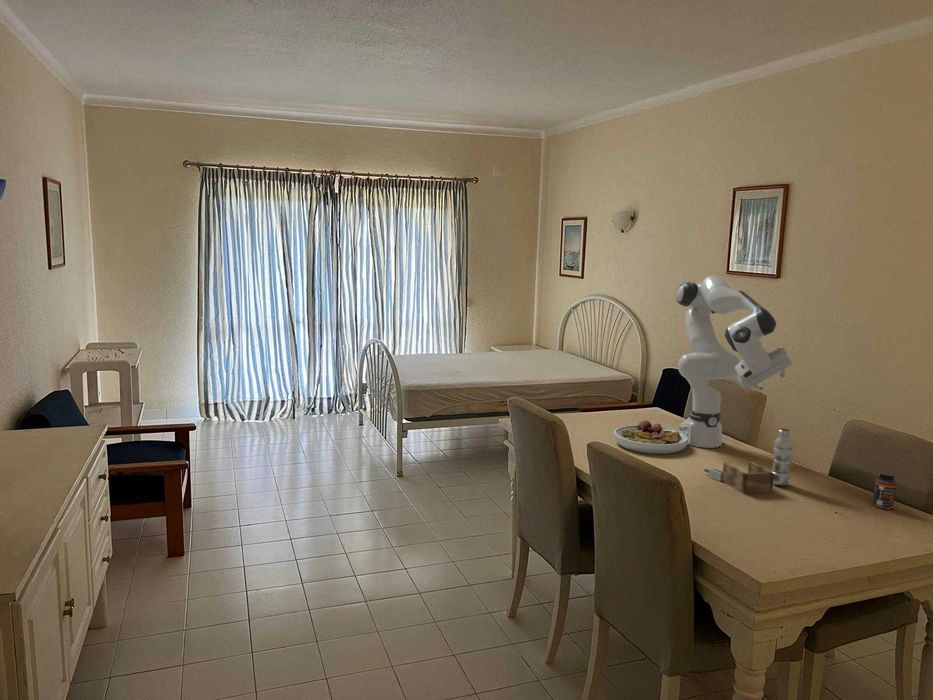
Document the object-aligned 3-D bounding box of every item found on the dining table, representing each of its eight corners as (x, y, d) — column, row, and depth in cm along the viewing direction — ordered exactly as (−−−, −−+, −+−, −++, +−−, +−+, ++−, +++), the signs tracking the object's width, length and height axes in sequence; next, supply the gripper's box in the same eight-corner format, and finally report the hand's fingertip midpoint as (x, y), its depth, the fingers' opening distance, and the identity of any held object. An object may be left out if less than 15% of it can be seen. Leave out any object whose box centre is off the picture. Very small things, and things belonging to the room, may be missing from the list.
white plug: (701, 474, 256) (702, 467, 256) (707, 473, 258) (708, 465, 257) (726, 483, 247) (727, 475, 247) (732, 482, 249) (733, 474, 248)
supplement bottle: (882, 510, 225) (886, 476, 223) (868, 503, 231) (872, 470, 229) (898, 509, 226) (902, 475, 225) (883, 502, 232) (887, 470, 230)
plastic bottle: (768, 485, 246) (773, 430, 243) (770, 480, 252) (775, 426, 249) (788, 489, 243) (794, 433, 240) (790, 483, 249) (795, 429, 246)
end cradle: (722, 480, 250) (723, 462, 249) (749, 479, 252) (751, 461, 251) (743, 493, 238) (745, 474, 236) (772, 492, 240) (774, 473, 239)
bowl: (696, 457, 278) (698, 438, 277) (621, 455, 278) (622, 436, 277) (676, 436, 308) (677, 419, 306) (607, 435, 308) (608, 417, 307)
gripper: (779, 341, 265) (792, 363, 272) (730, 369, 271) (745, 390, 278) (786, 350, 260) (800, 373, 267) (737, 379, 266) (751, 400, 273)
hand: (771, 382), depth 272 cm, fingers open, 8 cm apart
